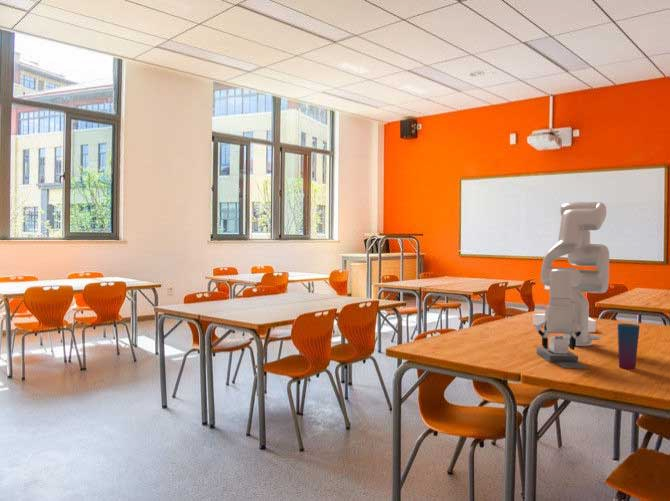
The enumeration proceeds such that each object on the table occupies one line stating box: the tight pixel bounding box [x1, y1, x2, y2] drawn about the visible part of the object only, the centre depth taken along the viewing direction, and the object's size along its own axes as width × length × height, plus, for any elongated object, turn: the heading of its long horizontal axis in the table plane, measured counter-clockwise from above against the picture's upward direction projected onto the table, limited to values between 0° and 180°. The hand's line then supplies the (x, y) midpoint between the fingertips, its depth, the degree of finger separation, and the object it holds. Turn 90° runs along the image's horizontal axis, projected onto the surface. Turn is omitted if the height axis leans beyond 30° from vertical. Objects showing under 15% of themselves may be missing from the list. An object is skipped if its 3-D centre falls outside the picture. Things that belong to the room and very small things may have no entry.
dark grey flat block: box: [536, 346, 579, 363], centre depth 208 cm, size 10×15×3 cm, turn 177°
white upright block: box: [548, 335, 569, 355], centre depth 206 cm, size 5×5×9 cm
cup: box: [617, 322, 640, 370], centre depth 194 cm, size 7×7×15 cm
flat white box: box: [532, 313, 597, 333], centre depth 283 cm, size 30×26×6 cm
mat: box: [555, 362, 589, 370], centre depth 195 cm, size 8×8×1 cm
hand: (558, 348), depth 206 cm, fingers open, 9 cm apart
